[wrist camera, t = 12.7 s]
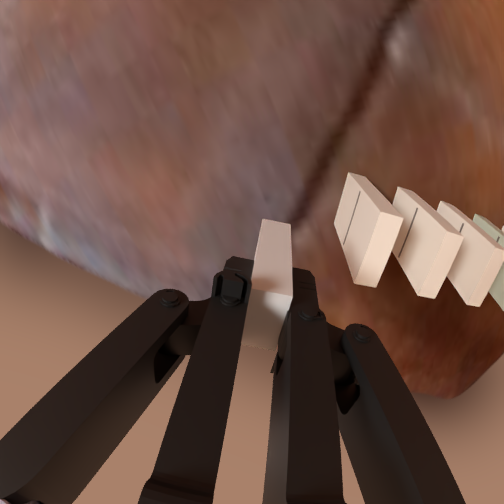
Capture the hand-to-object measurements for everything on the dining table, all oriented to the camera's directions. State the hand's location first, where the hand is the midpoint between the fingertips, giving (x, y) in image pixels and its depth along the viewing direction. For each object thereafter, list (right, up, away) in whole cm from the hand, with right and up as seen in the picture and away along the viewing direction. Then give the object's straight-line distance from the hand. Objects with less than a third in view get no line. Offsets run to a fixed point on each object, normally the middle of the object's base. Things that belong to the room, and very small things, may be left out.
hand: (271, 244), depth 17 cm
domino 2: (+13, +3, +10) cm, 16 cm away
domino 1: (+8, +4, +10) cm, 13 cm away
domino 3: (+17, +2, +10) cm, 20 cm away
